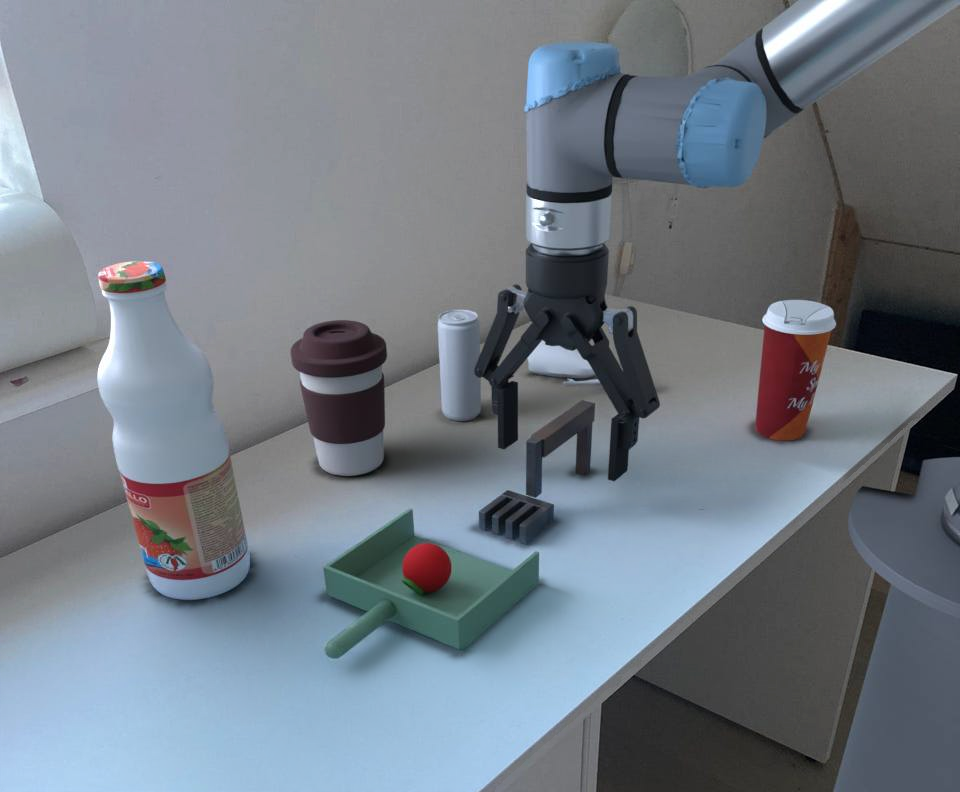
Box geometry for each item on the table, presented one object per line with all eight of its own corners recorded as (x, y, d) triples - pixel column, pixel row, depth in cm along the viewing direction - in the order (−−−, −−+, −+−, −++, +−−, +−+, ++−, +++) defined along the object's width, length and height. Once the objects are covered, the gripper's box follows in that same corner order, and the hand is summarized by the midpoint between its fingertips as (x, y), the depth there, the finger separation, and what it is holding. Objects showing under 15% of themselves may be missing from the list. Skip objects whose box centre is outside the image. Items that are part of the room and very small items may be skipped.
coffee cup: (363, 491, 104) (348, 354, 95) (289, 472, 108) (267, 338, 99) (412, 453, 111) (403, 322, 102) (341, 436, 115) (326, 309, 106)
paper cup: (807, 449, 109) (832, 325, 101) (739, 438, 112) (757, 316, 103) (819, 421, 115) (843, 302, 106) (754, 411, 118) (772, 294, 109)
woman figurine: (547, 318, 132) (668, 352, 124) (545, 350, 135) (663, 385, 127) (500, 345, 124) (626, 383, 117) (498, 378, 127) (621, 417, 119)
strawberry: (447, 545, 85) (415, 587, 84) (468, 569, 88) (438, 609, 88) (414, 526, 87) (383, 566, 87) (436, 550, 91) (407, 589, 90)
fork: (563, 464, 108) (565, 395, 103) (608, 476, 105) (612, 407, 101) (478, 528, 97) (476, 455, 93) (526, 544, 95) (526, 470, 90)
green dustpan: (411, 537, 96) (409, 507, 94) (538, 582, 89) (539, 552, 87) (265, 641, 83) (259, 609, 81) (401, 704, 76) (398, 671, 74)
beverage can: (472, 403, 122) (469, 306, 114) (487, 418, 118) (485, 319, 111) (436, 410, 120) (431, 312, 113) (450, 425, 117) (446, 326, 109)
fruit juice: (261, 588, 90) (202, 277, 73) (157, 612, 87) (70, 296, 70) (241, 539, 97) (182, 245, 80) (144, 561, 94) (61, 261, 77)
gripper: (433, 235, 91) (444, 444, 104) (673, 276, 80) (651, 506, 93) (479, 216, 96) (484, 419, 109) (711, 253, 85) (686, 474, 98)
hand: (561, 459), depth 101 cm, fingers open, 12 cm apart
